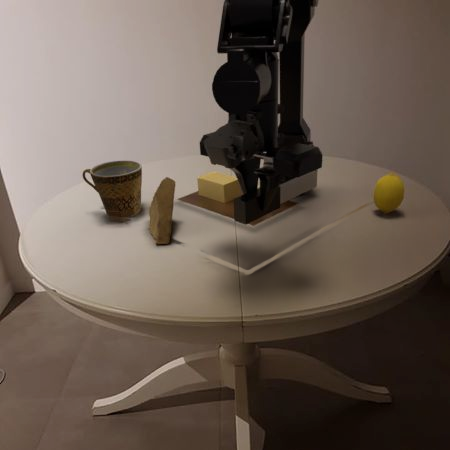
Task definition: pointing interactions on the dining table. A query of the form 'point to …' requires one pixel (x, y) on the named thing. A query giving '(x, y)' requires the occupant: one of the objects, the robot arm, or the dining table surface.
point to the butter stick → (219, 187)
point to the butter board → (228, 206)
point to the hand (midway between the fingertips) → (257, 208)
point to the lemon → (388, 193)
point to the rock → (162, 211)
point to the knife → (250, 202)
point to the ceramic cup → (118, 188)
